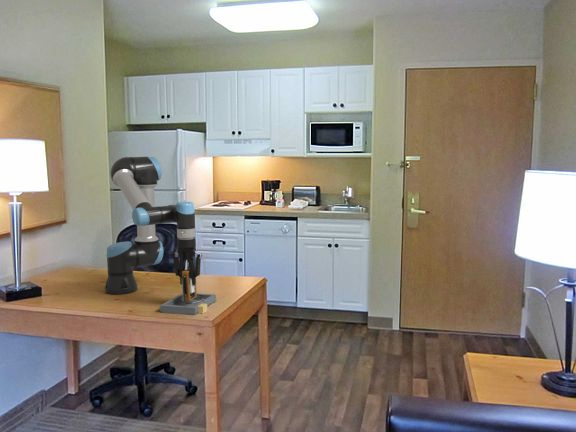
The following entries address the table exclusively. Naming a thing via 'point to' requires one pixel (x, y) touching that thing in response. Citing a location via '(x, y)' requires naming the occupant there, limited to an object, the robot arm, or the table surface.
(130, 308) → the table surface
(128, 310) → the table surface
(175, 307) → the tray
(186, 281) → the multimeter
